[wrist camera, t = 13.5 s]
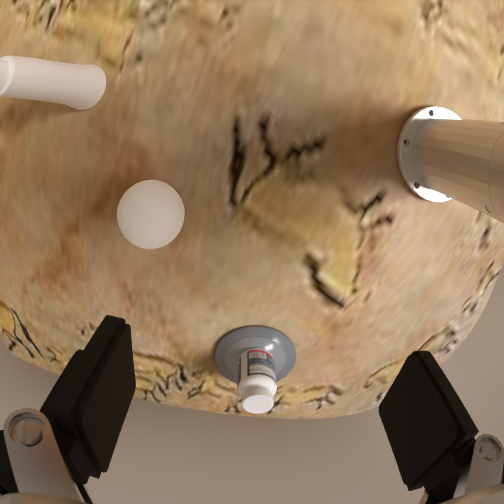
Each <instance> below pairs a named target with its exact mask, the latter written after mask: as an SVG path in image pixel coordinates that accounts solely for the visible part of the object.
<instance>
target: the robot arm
mask: <svg viewBox="0 0 504 504" xmlns="http://www.w3.org/2000/svg"><path fill="white" fill-rule="evenodd" d="M428 112H429V113H428ZM404 140H405V143H404ZM397 156H398V164H399V168H400V172H401V174H402V176H403V179H404V180H405V182H406V184H407V185H408V187H409V188H410V189H411V190H412V191H413V192H414V193H415V194H417V195H418V196H419V197H421V198H423V199H425V200H428V201H431V202H439V203H441V202H446V201H449V200H451V199H455V200H457V201H459V202H461V203H464V204H466V205H468V206H470V207H472V208H474V209H476V210H478V211H480V212H483V213H485V214H487V215H489V216H491V217H493V218H495V219H496V220H498V221H500V222H502V223H504V122H494V121H481V120H466V119H461V118H460V117H459V116H457V115H456V114H455V113H454V112H452V111H450V110H449V109H446V108H443V107H436V106H432V107H425V108H422V109H419V110H418V111H416V112H414V113H413V114H412V115H411V116H410V117H409V118H408V119H407V121H406V122H405V124H404V125H403V127H402V130H401V132H400V135H399V139H398V147H397ZM414 183H415V185H414ZM135 387H136V380H135V372H134V362H133V352H132V340H131V328H130V325H129V324H126V323H125V319H123V318H119V317H114V316H110V315H107V316H106V317H105V318H104V319H103V321H102V322H101V324H100V325H99V327H98V328H97V330H96V331H95V333H94V335H93V336H92V338H91V339H90V341H89V342H88V344H87V345H86V347H85V349H84V350H80V349H79V350H77V351H76V352H75V354H74V355H73V357H72V358H71V360H70V361H69V363H68V364H67V366H66V368H65V369H64V371H63V372H62V374H61V376H60V377H59V379H58V380H57V382H56V384H55V386H54V387H53V389H52V390H51V392H50V394H49V395H48V397H47V399H46V401H45V402H44V404H43V406H42V407H41V409H40V411H38V410H36V409H31V408H21V409H19V410H16V411H14V412H13V413H11V414H10V415H9V416H8V417H7V419H6V420H5V423H4V430H0V504H94V502H93V500H92V498H91V496H90V494H89V492H88V490H87V488H86V486H85V484H86V483H87V482H88V479H89V476H92V477H95V478H98V479H99V477H100V474H101V472H107V470H108V467H109V464H110V461H111V458H112V455H113V452H114V449H115V446H116V443H117V440H118V437H119V434H120V431H121V428H122V425H123V422H124V420H125V417H126V414H127V411H128V409H129V406H130V403H131V400H132V398H133V395H134V392H135ZM379 414H380V417H381V420H382V423H383V425H384V428H385V431H386V433H387V436H388V439H389V442H390V445H391V447H392V451H393V453H394V456H395V459H396V462H397V465H398V468H399V471H400V474H401V477H402V480H403V482H404V484H406V485H407V487H408V490H409V491H412V490H415V489H419V488H421V487H423V486H424V488H425V491H424V494H423V496H422V499H421V501H420V503H419V504H504V448H503V446H502V444H501V442H500V441H499V440H498V439H497V438H495V437H494V436H492V435H489V434H483V435H481V436H479V437H478V438H477V439H476V440H475V438H474V436H475V435H476V434H477V433H478V432H479V431H478V429H477V427H476V426H475V424H474V422H473V421H472V419H471V417H470V415H469V414H468V412H467V410H466V408H465V407H464V405H463V403H462V402H461V400H460V398H459V397H458V395H457V393H456V392H455V390H454V388H453V387H452V385H451V384H450V382H449V380H448V379H447V377H446V376H445V374H444V373H443V371H442V369H441V368H440V366H439V365H438V363H437V362H436V360H435V359H434V357H433V356H432V354H431V353H430V352H429V351H414V352H413V353H412V354H411V355H409V356H408V357H407V359H406V361H405V363H404V365H403V366H402V368H401V370H400V372H399V374H398V375H397V377H396V379H395V381H394V382H393V384H392V386H391V387H390V389H389V391H388V392H387V394H386V396H385V397H384V399H383V400H382V402H381V404H380V406H379Z"/></svg>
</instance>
